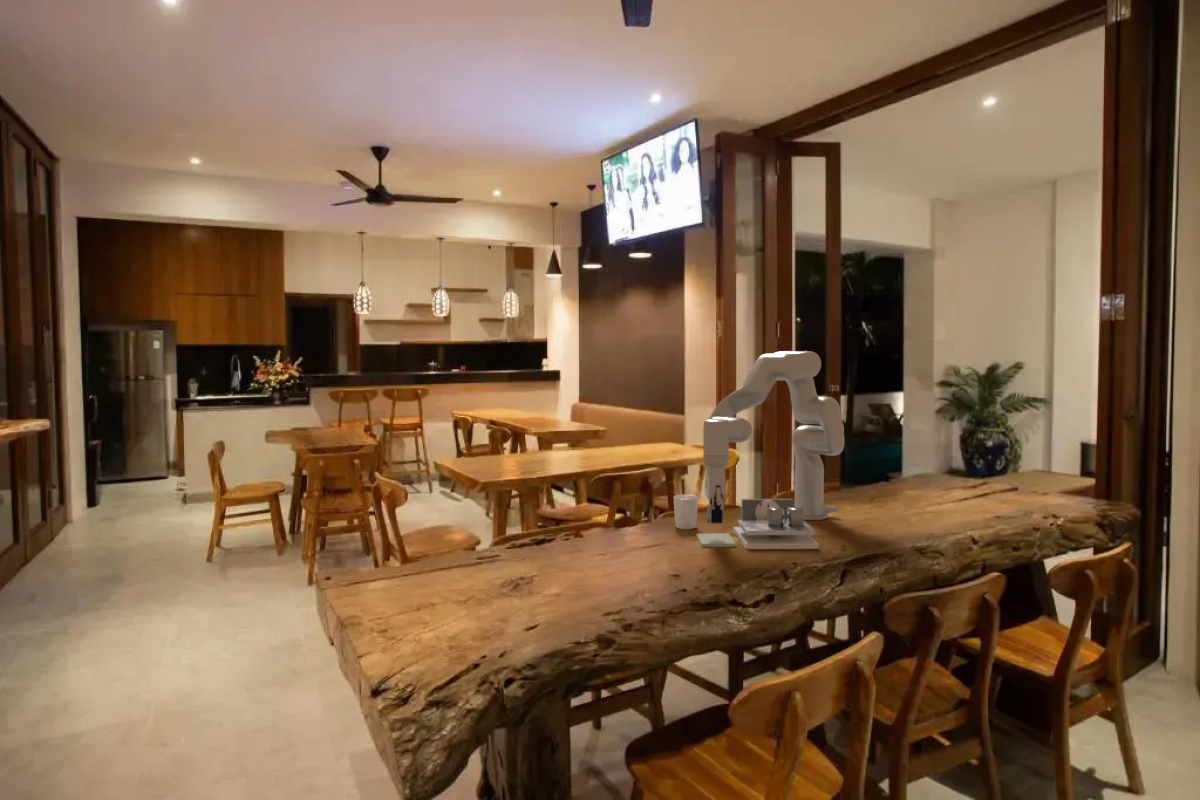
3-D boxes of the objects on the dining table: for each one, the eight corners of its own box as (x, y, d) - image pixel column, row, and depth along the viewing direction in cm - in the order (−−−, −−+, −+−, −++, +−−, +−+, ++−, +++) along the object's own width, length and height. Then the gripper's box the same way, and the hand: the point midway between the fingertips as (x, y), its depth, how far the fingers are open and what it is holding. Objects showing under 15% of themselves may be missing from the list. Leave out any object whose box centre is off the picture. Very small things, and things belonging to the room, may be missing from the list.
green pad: (728, 536, 233) (728, 533, 233) (735, 546, 221) (735, 543, 221) (696, 536, 233) (696, 533, 233) (701, 547, 221) (701, 543, 221)
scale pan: (802, 523, 234) (802, 519, 234) (815, 534, 220) (815, 530, 220) (738, 523, 234) (738, 520, 234) (746, 535, 220) (746, 530, 220)
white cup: (669, 525, 248) (669, 495, 248) (690, 523, 251) (690, 493, 251) (680, 530, 241) (680, 500, 240) (702, 528, 244) (702, 498, 243)
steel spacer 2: (801, 523, 229) (801, 506, 229) (805, 527, 224) (806, 510, 224) (785, 523, 229) (785, 507, 229) (789, 527, 224) (789, 510, 224)
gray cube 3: (722, 520, 229) (722, 503, 229) (724, 523, 224) (725, 507, 224) (705, 520, 229) (705, 503, 229) (708, 523, 224) (708, 507, 224)
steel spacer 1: (781, 523, 229) (782, 507, 229) (785, 527, 224) (785, 510, 224) (765, 523, 229) (765, 506, 229) (768, 527, 224) (768, 510, 224)
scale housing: (799, 531, 239) (799, 498, 239) (817, 548, 218) (818, 513, 218) (733, 531, 240) (733, 498, 239) (745, 549, 219) (745, 513, 218)
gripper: (699, 456, 234) (699, 514, 235) (707, 464, 217) (706, 527, 218) (723, 456, 234) (723, 514, 235) (733, 464, 217) (732, 527, 218)
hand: (715, 519), depth 227 cm, fingers closed on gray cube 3, 5 cm apart
